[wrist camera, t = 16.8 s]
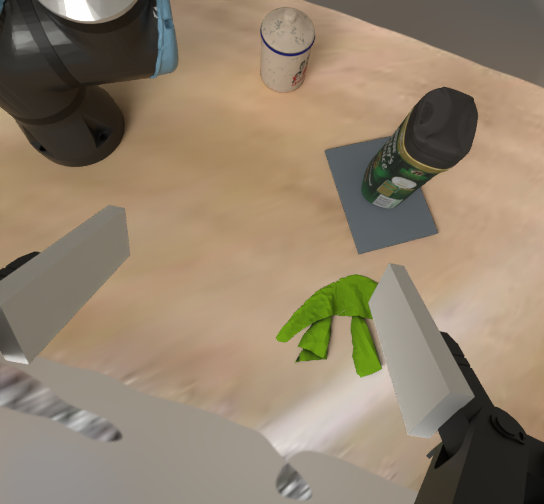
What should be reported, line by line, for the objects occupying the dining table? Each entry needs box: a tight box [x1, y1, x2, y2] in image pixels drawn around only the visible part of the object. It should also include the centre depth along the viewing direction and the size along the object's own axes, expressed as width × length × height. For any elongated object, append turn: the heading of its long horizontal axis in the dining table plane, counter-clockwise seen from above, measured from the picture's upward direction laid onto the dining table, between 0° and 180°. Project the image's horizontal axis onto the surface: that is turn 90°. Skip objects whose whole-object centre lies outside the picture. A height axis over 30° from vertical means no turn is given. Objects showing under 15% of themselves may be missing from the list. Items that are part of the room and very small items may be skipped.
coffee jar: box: [361, 87, 478, 209], centre depth 41 cm, size 10×8×19 cm
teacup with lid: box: [260, 7, 315, 92], centre depth 49 cm, size 12×9×12 cm
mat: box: [325, 136, 438, 254], centre depth 50 cm, size 20×15×1 cm
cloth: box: [276, 274, 382, 377], centre depth 45 cm, size 20×22×2 cm
